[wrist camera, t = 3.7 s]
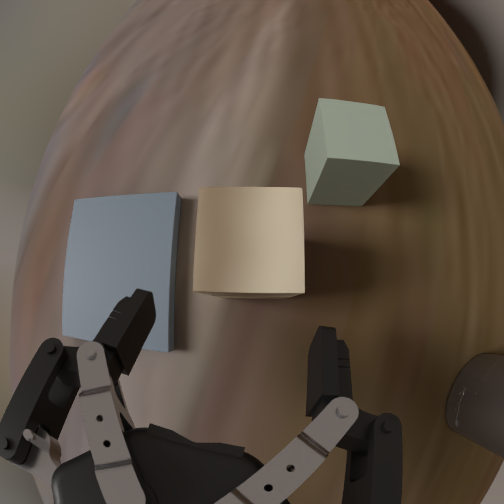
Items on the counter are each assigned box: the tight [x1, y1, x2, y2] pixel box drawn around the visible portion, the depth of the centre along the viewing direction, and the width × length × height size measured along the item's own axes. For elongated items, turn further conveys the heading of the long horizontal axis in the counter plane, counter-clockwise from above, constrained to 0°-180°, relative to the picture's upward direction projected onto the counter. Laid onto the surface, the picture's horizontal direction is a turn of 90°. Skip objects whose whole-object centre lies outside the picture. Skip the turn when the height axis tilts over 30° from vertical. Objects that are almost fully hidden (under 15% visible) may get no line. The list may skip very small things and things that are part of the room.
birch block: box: [193, 187, 305, 299], centre depth 18 cm, size 5×5×10 cm
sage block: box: [305, 98, 400, 206], centre depth 20 cm, size 5×5×8 cm
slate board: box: [62, 192, 182, 352], centre depth 22 cm, size 11×13×2 cm
